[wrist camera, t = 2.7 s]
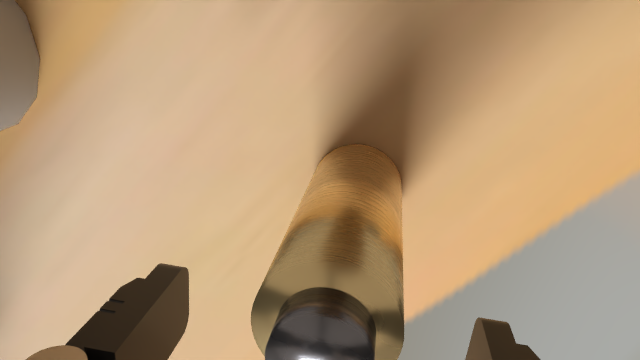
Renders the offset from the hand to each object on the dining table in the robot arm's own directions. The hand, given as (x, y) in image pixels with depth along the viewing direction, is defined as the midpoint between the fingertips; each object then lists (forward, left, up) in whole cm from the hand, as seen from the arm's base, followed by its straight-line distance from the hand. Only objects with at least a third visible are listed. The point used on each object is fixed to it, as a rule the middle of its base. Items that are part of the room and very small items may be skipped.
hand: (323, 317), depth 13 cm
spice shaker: (0, 0, -9) cm, 9 cm away
